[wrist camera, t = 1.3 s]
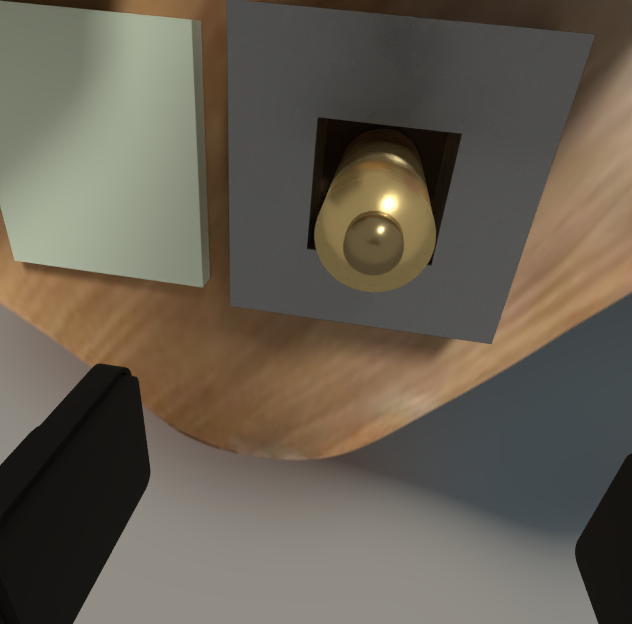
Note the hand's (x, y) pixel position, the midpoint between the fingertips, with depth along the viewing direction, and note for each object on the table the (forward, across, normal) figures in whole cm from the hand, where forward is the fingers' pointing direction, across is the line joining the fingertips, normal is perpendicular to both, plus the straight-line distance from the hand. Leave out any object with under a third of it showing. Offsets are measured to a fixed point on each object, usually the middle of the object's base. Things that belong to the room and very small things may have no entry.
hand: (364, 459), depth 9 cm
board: (+23, +18, +1) cm, 29 cm away
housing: (+23, 0, 0) cm, 23 cm away
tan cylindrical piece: (+23, 0, 0) cm, 23 cm away
